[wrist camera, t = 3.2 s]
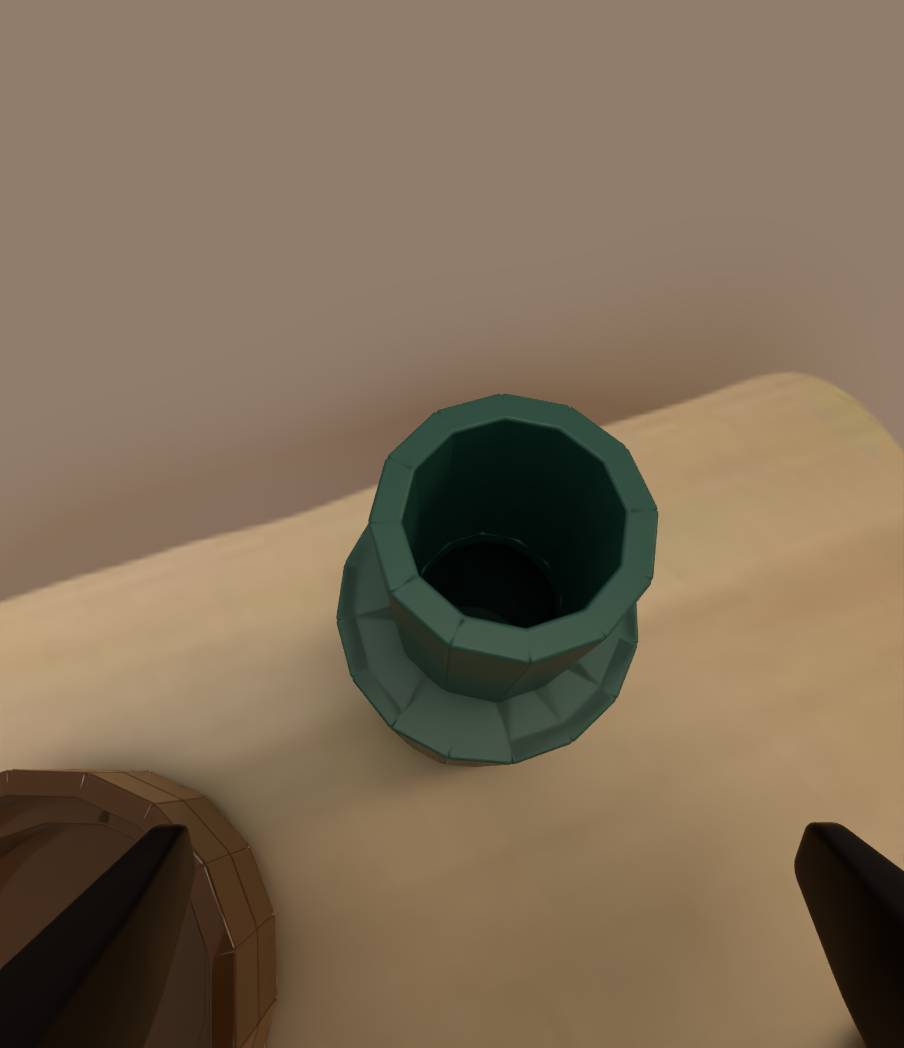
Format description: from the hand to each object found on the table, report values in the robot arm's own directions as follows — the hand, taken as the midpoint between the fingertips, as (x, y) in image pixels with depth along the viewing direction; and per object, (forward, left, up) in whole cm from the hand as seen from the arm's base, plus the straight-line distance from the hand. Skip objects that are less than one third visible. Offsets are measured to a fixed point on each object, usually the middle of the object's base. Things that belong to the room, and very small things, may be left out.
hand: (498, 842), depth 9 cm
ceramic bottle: (+3, +2, -11) cm, 11 cm away
